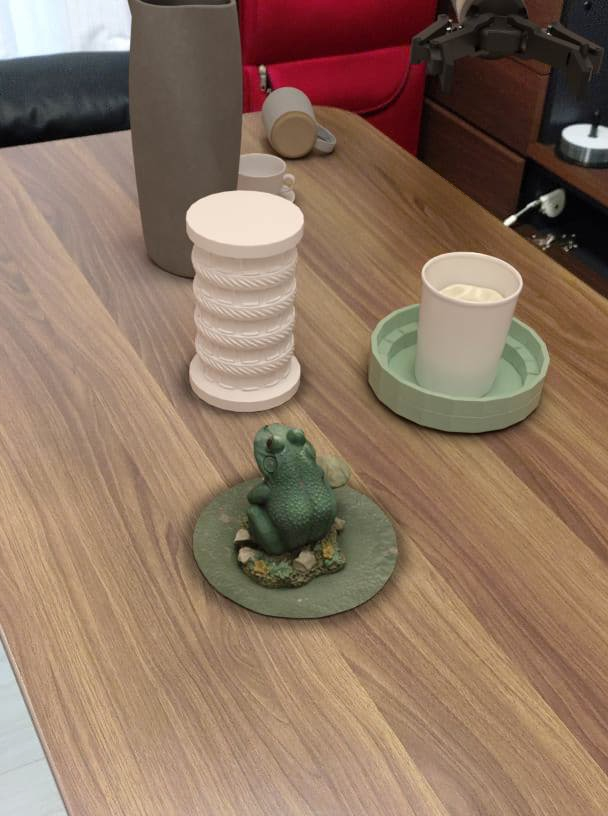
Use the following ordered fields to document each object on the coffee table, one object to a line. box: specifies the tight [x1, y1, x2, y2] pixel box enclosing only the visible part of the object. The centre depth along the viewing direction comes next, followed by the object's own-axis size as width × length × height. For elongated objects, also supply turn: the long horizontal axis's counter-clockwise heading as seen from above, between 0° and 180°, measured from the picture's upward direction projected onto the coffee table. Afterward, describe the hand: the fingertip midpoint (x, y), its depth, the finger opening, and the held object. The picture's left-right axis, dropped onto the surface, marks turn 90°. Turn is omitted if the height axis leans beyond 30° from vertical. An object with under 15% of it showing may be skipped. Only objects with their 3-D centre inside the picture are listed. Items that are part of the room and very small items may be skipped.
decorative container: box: [186, 190, 305, 413], centre depth 96 cm, size 12×12×18 cm
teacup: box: [237, 152, 296, 204], centre depth 130 cm, size 10×10×5 cm
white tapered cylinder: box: [415, 251, 524, 398], centre depth 98 cm, size 10×10×12 cm
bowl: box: [367, 302, 551, 434], centre depth 102 cm, size 18×18×4 cm
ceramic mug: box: [260, 86, 337, 159], centre depth 141 cm, size 11×8×8 cm
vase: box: [127, 0, 244, 279], centre depth 109 cm, size 12×12×30 cm
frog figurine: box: [192, 422, 399, 619], centre depth 81 cm, size 18×18×12 cm
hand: (516, 82), depth 98 cm, fingers open, 13 cm apart
